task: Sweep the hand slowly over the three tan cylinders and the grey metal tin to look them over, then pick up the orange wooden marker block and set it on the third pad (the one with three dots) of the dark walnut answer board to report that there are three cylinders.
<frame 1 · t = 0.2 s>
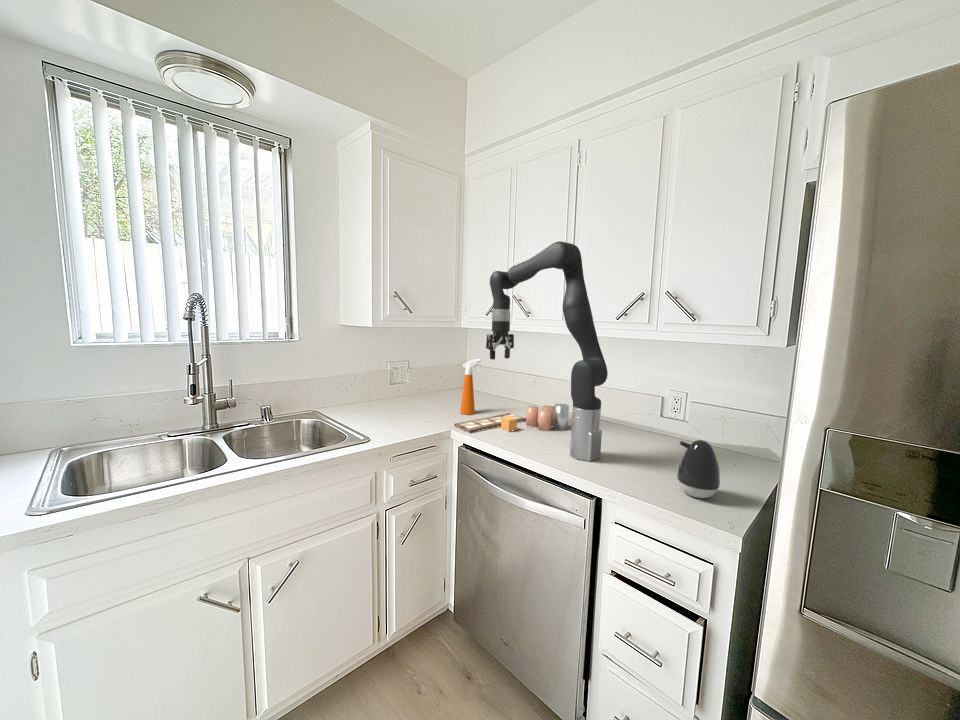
hand: (499, 358, 164), 29 cm above the worktop, tool pointing down, fingers open, 8 cm apart
spray bottle: (471, 413, 187), on the worktop
answer board: (491, 423, 170), on the worktop
marker block: (508, 430, 162), on the worktop
pump dispenser: (696, 494, 107), on the worktop
grey tin: (560, 428, 166), on the worktop
tan cylinder 1: (544, 429, 164), on the worktop
tan cylinder 2: (531, 425, 169), on the worktop
tan cylinder 3: (547, 424, 172), on the worktop
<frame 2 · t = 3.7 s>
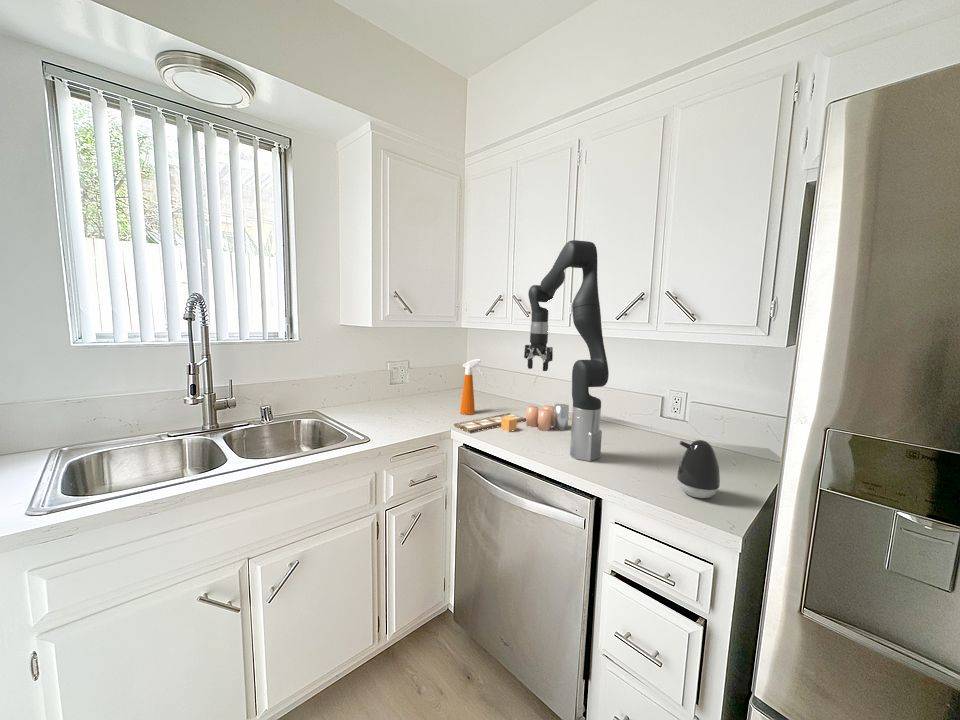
hand: (537, 369, 169), 24 cm above the worktop, tool pointing down, fingers open, 8 cm apart
nothing on the worktop moved.
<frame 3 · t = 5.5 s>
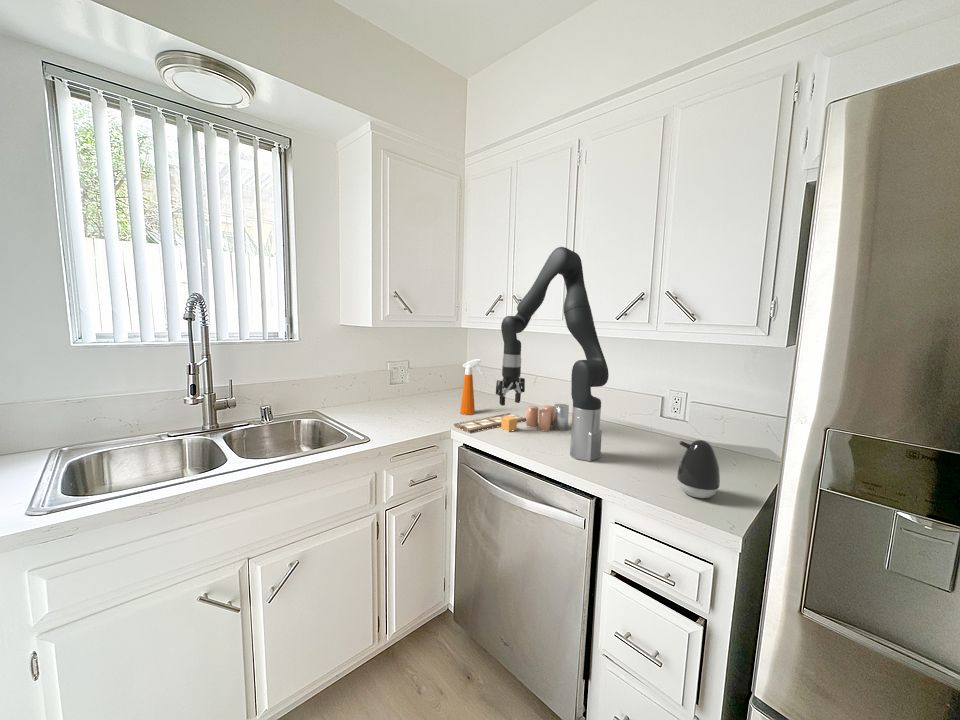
hand: (509, 403, 161), 11 cm above the worktop, tool pointing down, fingers open, 8 cm apart
nothing on the worktop moved.
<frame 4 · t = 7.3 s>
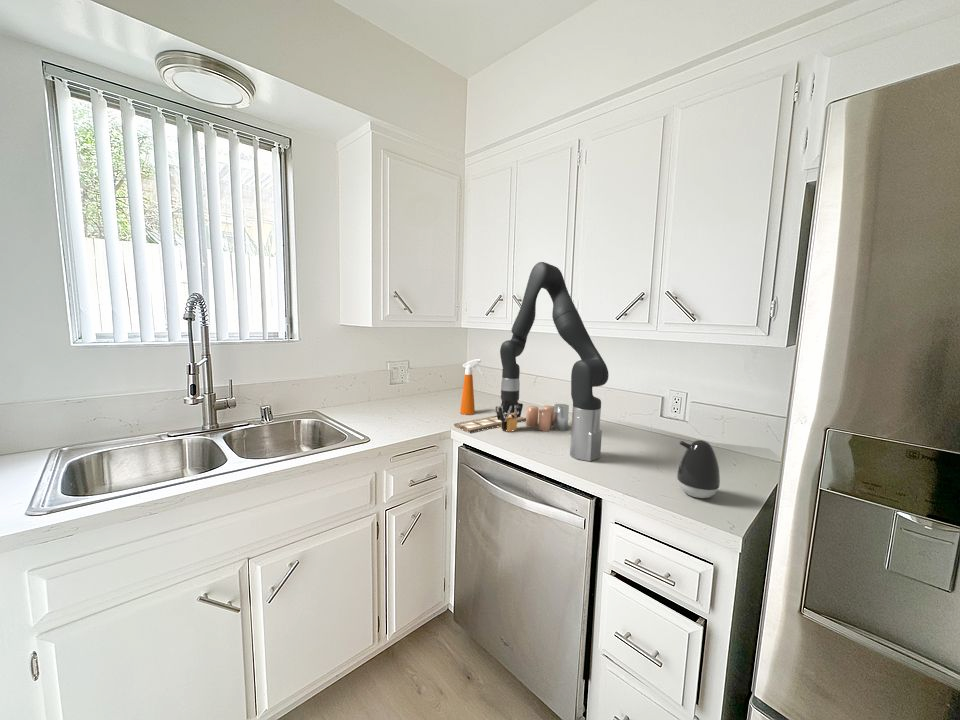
hand: (508, 428, 162), 0 cm above the worktop, tool pointing down, fingers closed on marker block, 4 cm apart
marker block: (508, 429, 162), on the worktop, touching gripper
everything else where it was.
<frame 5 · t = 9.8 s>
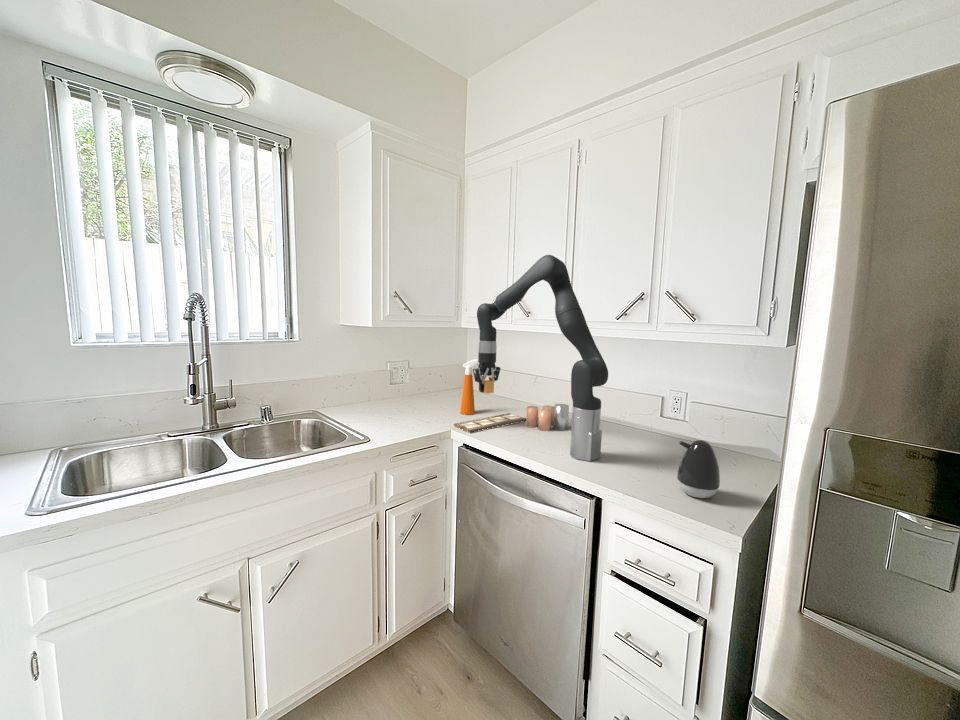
hand: (486, 391, 166), 15 cm above the worktop, tool pointing down, fingers closed on marker block, 4 cm apart
marker block: (486, 392, 166), point 14 cm above the worktop, touching gripper
everything else where it was.
when the fingers open (3 cm above the worktop, at t = 12.6 s): marker block drops 1 cm, resting on answer board.
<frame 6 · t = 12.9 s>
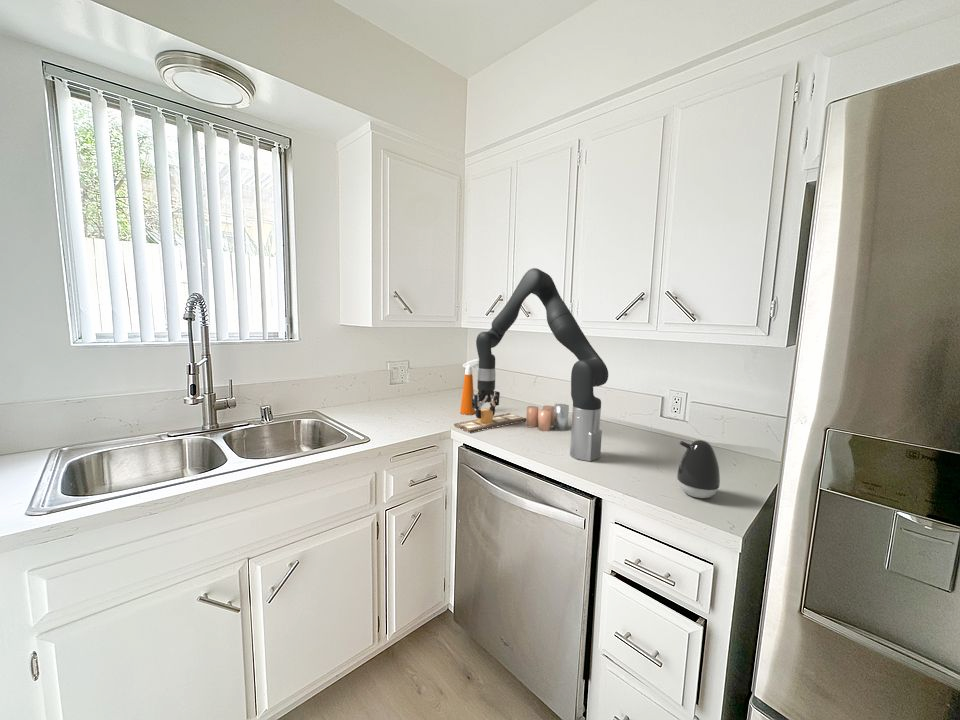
hand: (485, 416, 167), 4 cm above the worktop, tool pointing down, fingers open, 7 cm apart
marker block: (485, 422, 167), point 1 cm above the worktop, touching answer board
everything else where it was.
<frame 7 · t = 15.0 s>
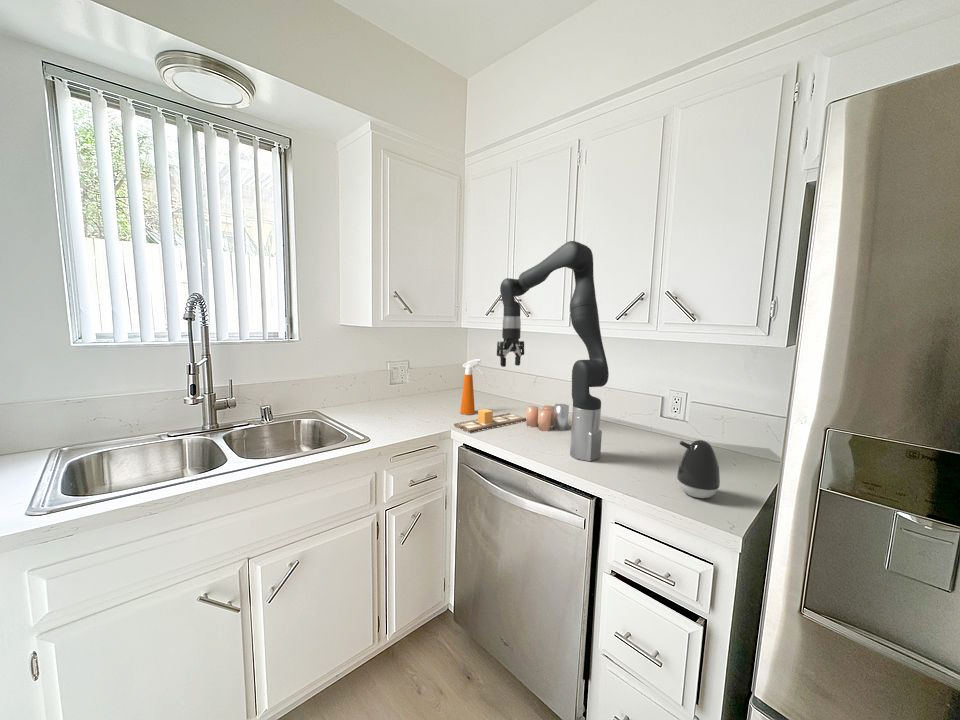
hand: (510, 366, 164), 26 cm above the worktop, tool pointing down, fingers open, 8 cm apart
nothing on the worktop moved.
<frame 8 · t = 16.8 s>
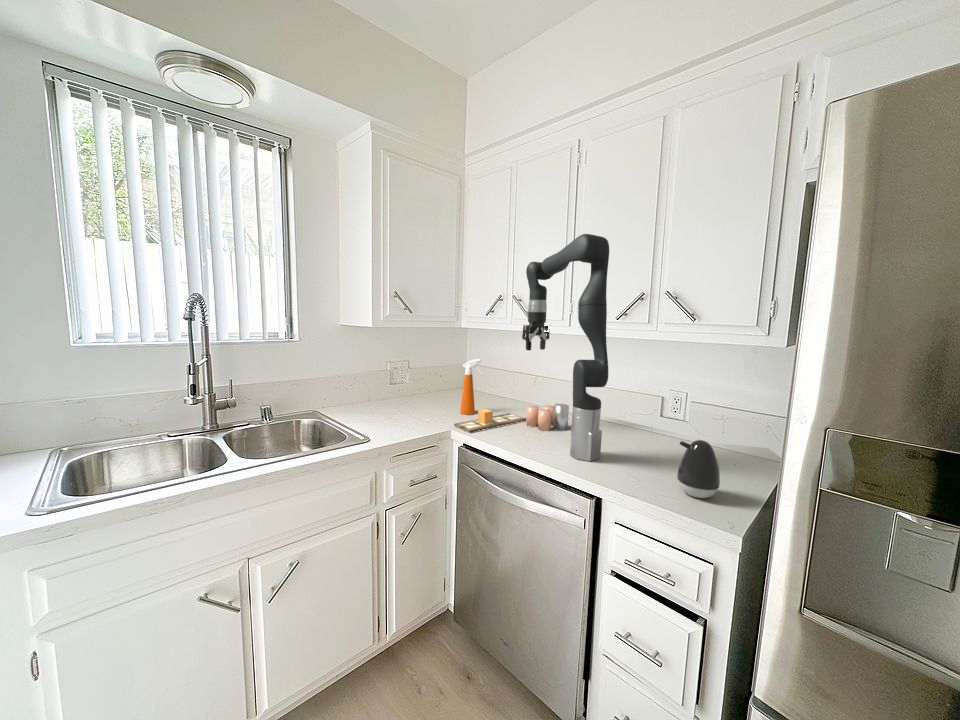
hand: (535, 349, 164), 33 cm above the worktop, tool pointing down, fingers open, 8 cm apart
nothing on the worktop moved.
at the end: marker block 0.0 cm from the target spot on the answer board, point 1.4 cm above the answer board's base; marker block tilted 0°; the gripper is holding nothing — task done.
